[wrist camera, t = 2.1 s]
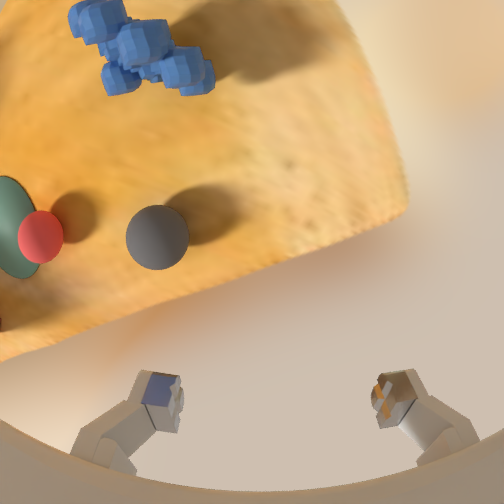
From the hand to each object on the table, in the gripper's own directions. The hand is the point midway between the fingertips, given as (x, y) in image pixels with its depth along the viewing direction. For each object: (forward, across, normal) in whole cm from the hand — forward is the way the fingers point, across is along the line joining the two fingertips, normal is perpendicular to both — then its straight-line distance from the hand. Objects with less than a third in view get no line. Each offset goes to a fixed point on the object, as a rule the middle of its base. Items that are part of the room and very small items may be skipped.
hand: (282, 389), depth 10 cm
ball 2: (+15, +9, 0) cm, 18 cm away
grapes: (+18, +10, -15) cm, 25 cm away
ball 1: (+15, +23, 0) cm, 28 cm away
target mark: (+18, +33, 0) cm, 37 cm away
